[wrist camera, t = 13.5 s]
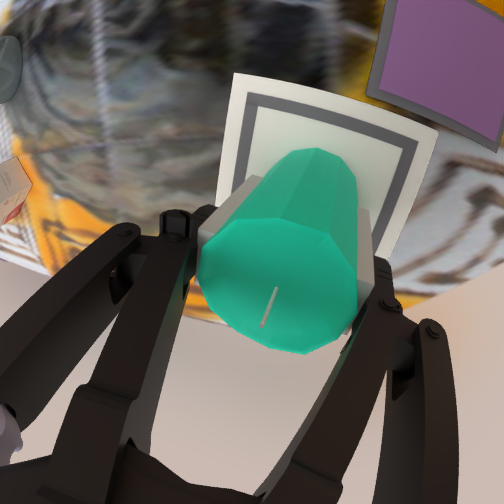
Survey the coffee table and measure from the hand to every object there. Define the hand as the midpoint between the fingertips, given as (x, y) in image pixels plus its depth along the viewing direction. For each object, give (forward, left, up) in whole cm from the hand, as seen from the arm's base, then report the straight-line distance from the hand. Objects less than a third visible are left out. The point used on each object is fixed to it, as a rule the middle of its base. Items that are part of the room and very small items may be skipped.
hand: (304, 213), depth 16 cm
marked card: (0, 0, -4) cm, 4 cm away
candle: (0, 0, -4) cm, 4 cm away
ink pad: (-6, -12, -4) cm, 14 cm away
